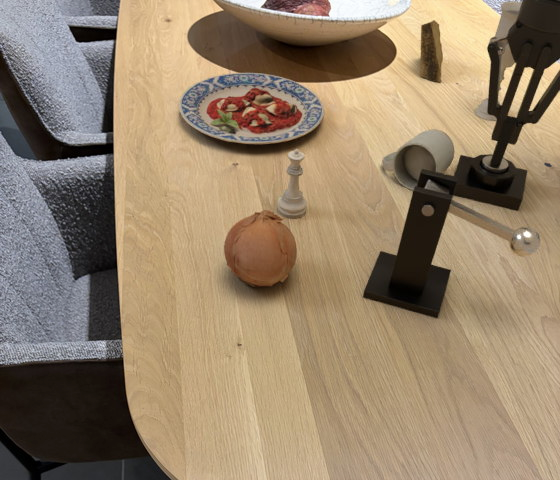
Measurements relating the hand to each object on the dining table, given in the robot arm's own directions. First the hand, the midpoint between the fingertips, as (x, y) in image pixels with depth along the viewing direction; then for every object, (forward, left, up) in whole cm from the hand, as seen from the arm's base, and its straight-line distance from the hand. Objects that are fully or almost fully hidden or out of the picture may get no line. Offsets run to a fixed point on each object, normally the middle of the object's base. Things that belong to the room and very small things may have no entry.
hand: (496, 160), depth 94 cm
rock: (+17, -40, -5) cm, 44 cm away
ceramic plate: (+43, -5, -5) cm, 44 cm away
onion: (+26, +35, -5) cm, 44 cm away
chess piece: (+27, +19, -5) cm, 33 cm away
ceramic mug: (+12, +2, -5) cm, 13 cm away
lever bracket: (+7, +29, -5) cm, 30 cm away
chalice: (+3, -26, -5) cm, 27 cm away
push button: (0, 0, -2) cm, 2 cm away
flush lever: (+1, +29, +6) cm, 30 cm away
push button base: (0, 0, -5) cm, 5 cm away
